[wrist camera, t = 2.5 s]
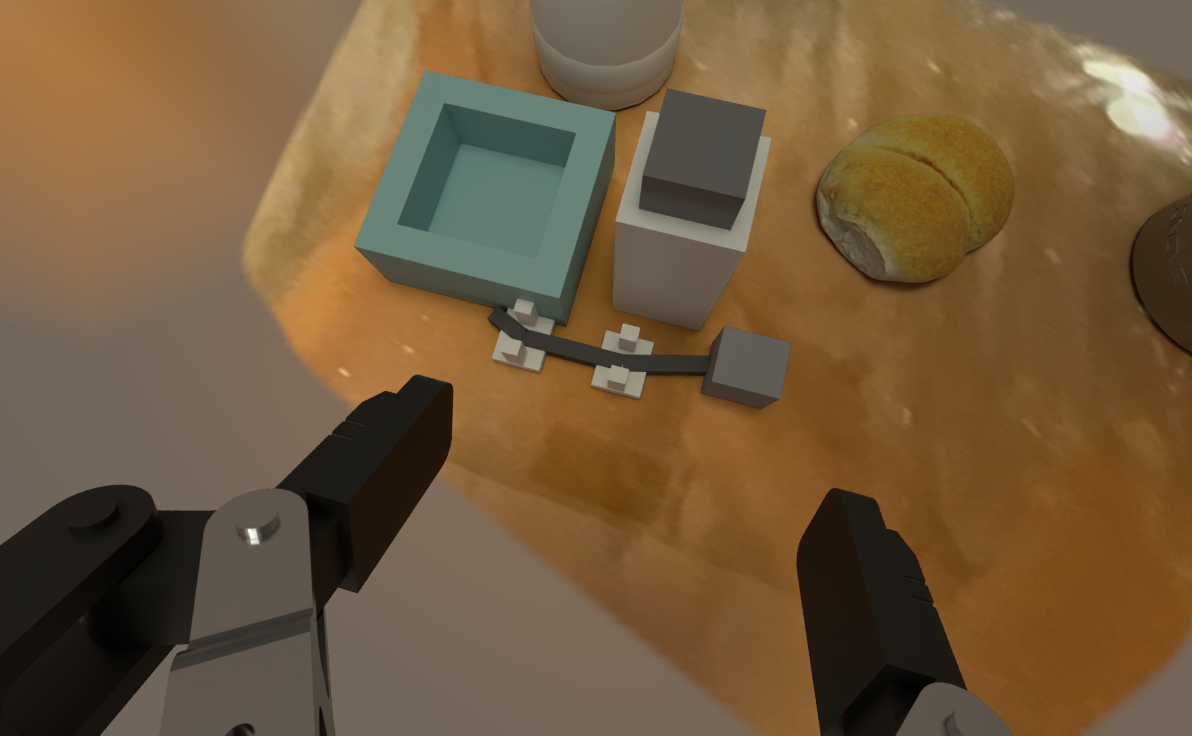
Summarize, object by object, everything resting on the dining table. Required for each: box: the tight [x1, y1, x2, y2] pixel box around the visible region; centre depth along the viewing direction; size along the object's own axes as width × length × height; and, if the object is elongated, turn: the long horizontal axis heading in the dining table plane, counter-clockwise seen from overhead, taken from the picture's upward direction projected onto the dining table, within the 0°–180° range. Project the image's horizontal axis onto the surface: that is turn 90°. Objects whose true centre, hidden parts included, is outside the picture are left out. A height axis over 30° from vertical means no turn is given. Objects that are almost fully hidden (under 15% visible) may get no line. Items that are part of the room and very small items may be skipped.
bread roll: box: [817, 115, 1014, 283], centre depth 26 cm, size 8×9×4 cm
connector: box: [612, 89, 771, 331], centre depth 22 cm, size 4×4×11 cm
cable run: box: [488, 299, 791, 409], centre depth 25 cm, size 14×4×3 cm, turn 75°
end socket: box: [354, 70, 616, 326], centre depth 26 cm, size 10×10×4 cm
